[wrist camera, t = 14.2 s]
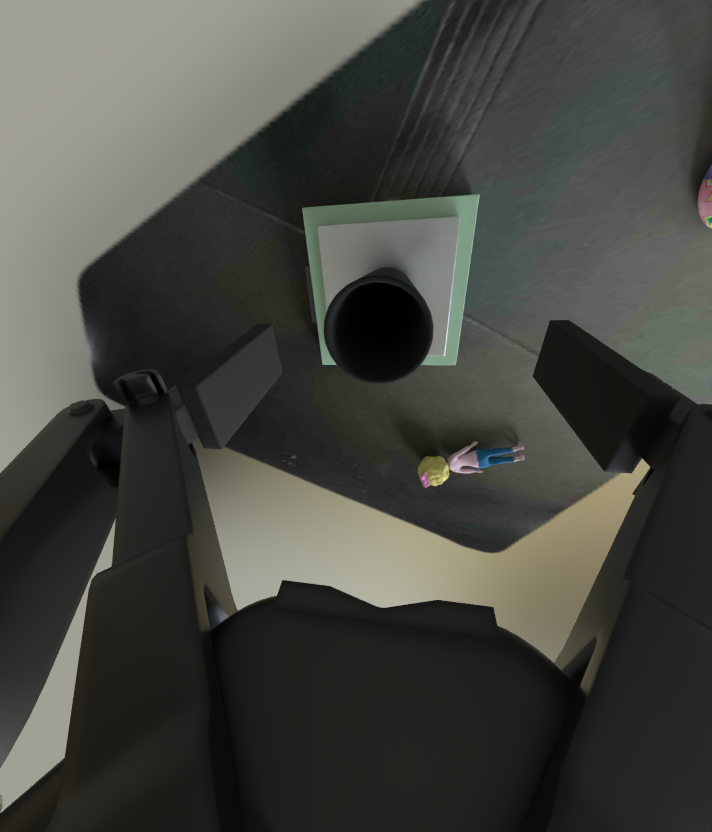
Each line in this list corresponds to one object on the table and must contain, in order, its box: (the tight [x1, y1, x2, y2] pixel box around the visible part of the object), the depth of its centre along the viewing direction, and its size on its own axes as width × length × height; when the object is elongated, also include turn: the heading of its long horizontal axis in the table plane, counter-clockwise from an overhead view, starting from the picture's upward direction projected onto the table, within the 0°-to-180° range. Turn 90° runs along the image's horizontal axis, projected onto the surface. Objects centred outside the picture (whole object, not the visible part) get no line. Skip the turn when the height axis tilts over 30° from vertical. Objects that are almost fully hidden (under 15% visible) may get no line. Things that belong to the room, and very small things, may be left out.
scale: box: [302, 194, 479, 365], centre depth 32 cm, size 16×17×3 cm
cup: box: [323, 267, 434, 384], centre depth 25 cm, size 8×8×12 cm
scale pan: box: [317, 216, 461, 356], centre depth 31 cm, size 13×13×1 cm
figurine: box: [418, 441, 524, 488], centre depth 44 cm, size 6×4×15 cm
